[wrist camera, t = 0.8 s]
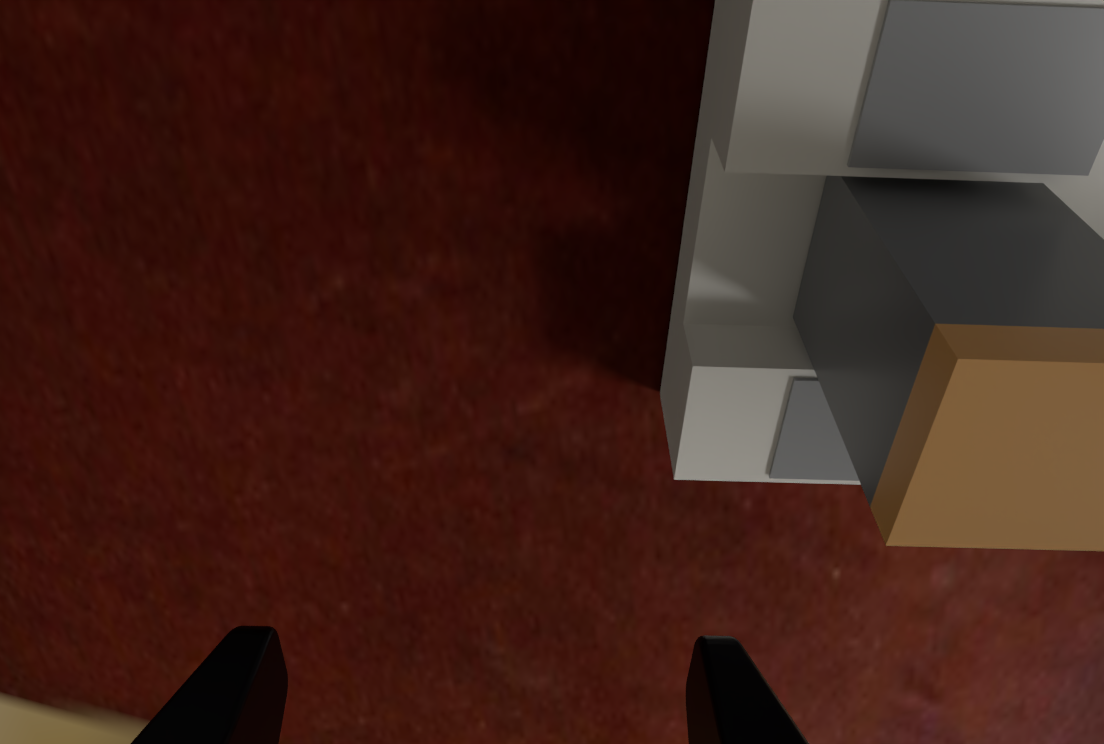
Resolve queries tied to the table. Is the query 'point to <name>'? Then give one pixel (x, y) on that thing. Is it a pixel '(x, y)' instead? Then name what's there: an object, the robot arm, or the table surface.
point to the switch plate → (847, 150)
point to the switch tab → (962, 358)
